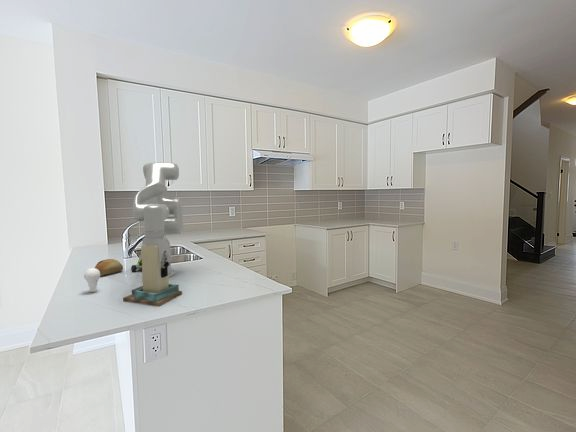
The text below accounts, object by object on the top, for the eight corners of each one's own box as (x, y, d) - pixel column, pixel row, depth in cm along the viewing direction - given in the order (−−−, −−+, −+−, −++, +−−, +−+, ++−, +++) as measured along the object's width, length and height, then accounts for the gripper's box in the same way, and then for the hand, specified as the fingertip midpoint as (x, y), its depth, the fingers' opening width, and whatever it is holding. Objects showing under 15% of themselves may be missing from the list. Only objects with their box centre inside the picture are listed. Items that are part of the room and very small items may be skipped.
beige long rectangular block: (170, 291, 125) (168, 243, 123) (158, 296, 119) (155, 246, 117) (156, 288, 128) (153, 242, 126) (142, 294, 121) (140, 245, 119)
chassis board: (123, 301, 120) (122, 290, 120) (149, 290, 133) (148, 280, 133) (158, 306, 114) (157, 295, 114) (181, 294, 128) (181, 284, 127)
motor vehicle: (131, 273, 162) (130, 254, 161) (141, 264, 181) (140, 247, 180) (153, 272, 164) (152, 253, 163) (160, 263, 183) (160, 247, 182)
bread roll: (89, 276, 155) (88, 261, 155) (115, 269, 169) (115, 256, 168) (100, 278, 151) (99, 263, 150) (127, 271, 165) (126, 257, 164)
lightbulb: (84, 295, 127) (82, 270, 126) (86, 291, 132) (84, 267, 131) (100, 293, 130) (99, 269, 129) (102, 289, 135) (100, 265, 134)
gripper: (130, 235, 120) (132, 276, 122) (165, 237, 115) (166, 280, 116) (145, 232, 127) (146, 271, 129) (177, 234, 122) (179, 275, 123)
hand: (156, 275), depth 123 cm, fingers closed on beige long rectangular block, 7 cm apart
